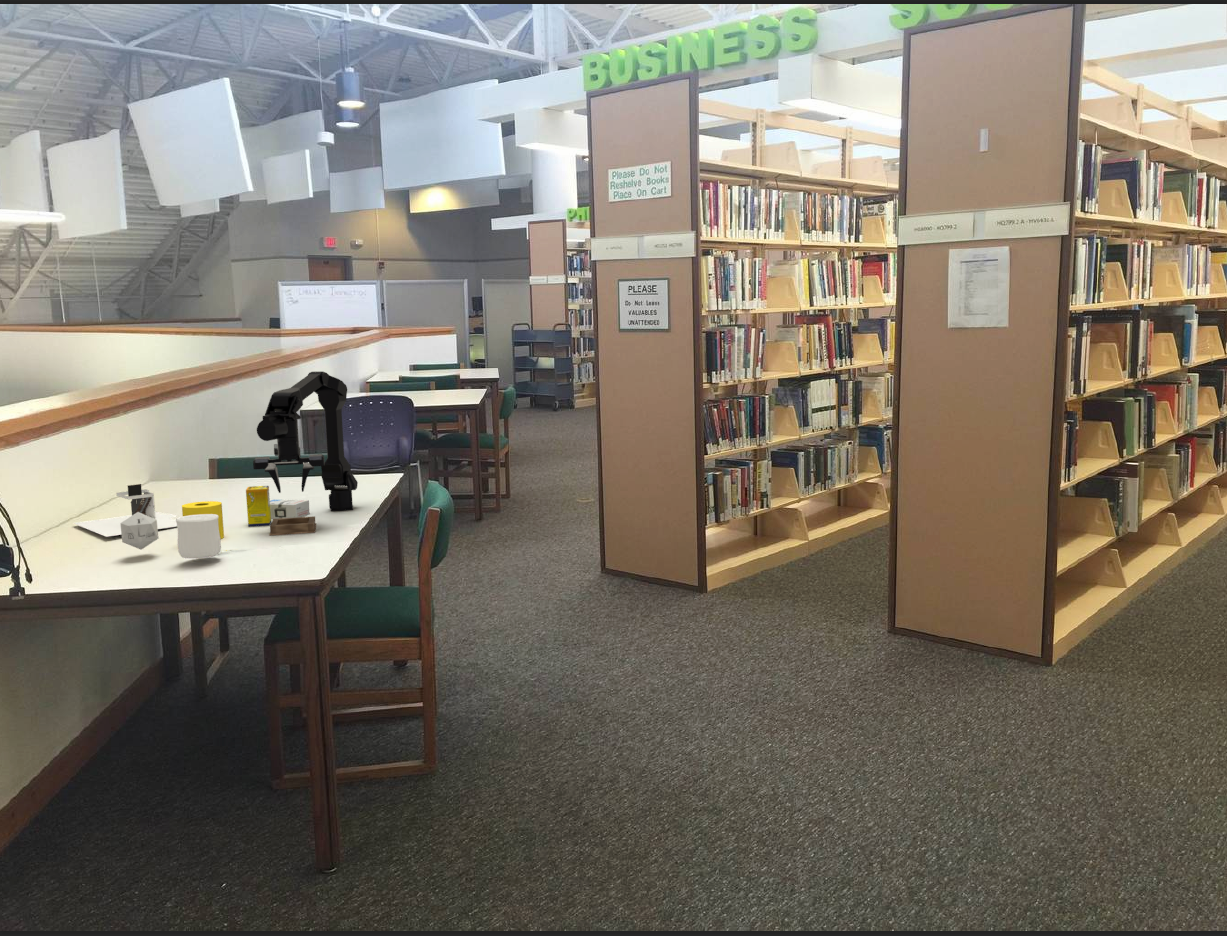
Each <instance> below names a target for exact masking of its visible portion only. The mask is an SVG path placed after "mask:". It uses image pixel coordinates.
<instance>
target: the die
mask: <svg viewBox="0 0 1227 936" xmlns="http://www.w3.org/2000/svg"><path fill="white" fill-rule="evenodd" d="M131 515H132V514H131ZM120 524H121V542H122V543H124V544H125V545H129V546H130V547H133V548H136V549H138V550H144V548H146V547H148V546H149V545H151V544H152V543H154V542H155V541H157V540H158V539H160V538H159V529H158V528H157V520H156V519H154V518H151V517H149V516H147V515H144V514H142V513H139V512H137V513H135V514H134V515H132V516H131V517H129V518H128V519H126V520H125V521H123V522H122V523H120Z"/></svg>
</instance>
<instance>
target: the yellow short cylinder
mask: <svg viewBox="0 0 1227 936" xmlns="http://www.w3.org/2000/svg"><path fill="white" fill-rule="evenodd" d="M181 510H182V511H181V512H182V516H189V515H199V514H216V515H218V516H219V517H218V526H219V534H220V540H221V539H224V538H225V531H224V518H223V504H222V502H221V501H217V500H215V501H213V500H210V501H208V500H205V501H195V502H194V501H193V502H189V503H188V502H187V503H185V504H182V505H181Z"/></svg>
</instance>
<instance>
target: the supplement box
mask: <svg viewBox="0 0 1227 936" xmlns="http://www.w3.org/2000/svg"><path fill="white" fill-rule="evenodd" d="M245 497H246V511H247V523H248V528H252V527H253V528H254V527H268V526H269V527H270V525H271V523H272V520H271V512H270V501H271V500H270V499H271V498H270V497H271V496H270V485H257V486H255V485H253V486H247V487H246V489H245Z"/></svg>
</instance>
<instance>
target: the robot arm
mask: <svg viewBox="0 0 1227 936" xmlns="http://www.w3.org/2000/svg"><path fill="white" fill-rule="evenodd" d="M314 393H315V394H317V399H318V403H319V404H320V406H321V407H322V408H323V411H324V421H325V423H324V424H325V436H326V438H325V439H326V455H327V458H326V460H325V455H324V454H322V453H318V454H317V453H316V454H309V456H308V457H301V447H300V441H299V439H300V437H299V422H298V420H301V419H302V416H301V415H300V414H299V413H297V412H299V410H300V409H301V408H302V407H303V405H304V400H305V399H306V398H308V397H309V396H311V395H312V394H314ZM347 394H348V386H347V385H346V383H344V381H343V380H341V379H339V378H337V377H335V376H331V375H330V374H328V373H327V372H325V371H310V372H308V374H307V375H306V376H305V377H303V378H302V379H300V380H299V381H298V382H296V383H295V384H293V385H292V386H291V387H289V388H288V387H287V388H284V389H280V390H277V391H274V392H273V393H272V394H271V396H270V398H269V402H268V405H267V407H266V411H265V413H264V415H262V420H260V422H259V423H258V424H257V427H256V434H257V436H258V437H259V438H260V439H261V440H262V441H264V442H270V441H274V440H277V441H276V442H277V443H275V444H273V454H274V456H275V457H277V458H272V459H270V456H256V457H255V458H254V459H253V461H252V464H253V465H252V466H253V470H264V472H265V473H268V474H269V475H270V478H271V479H272V480H273V482H274V484H275V487H276V489H277V492H278V494H281V493H282V491H281V490H282V489H281V483H280V478H279V477H280V476H279V473H278V472H279V471H278V467H277V466H292V465H293V466H294V465H295V466H296V465H302V466H303V467H302V471H301V475H302V476H301V492H302V493H303V492H304V491H305V487H306V483H307V478H308V476H309V474H310V471H311V470H315V467H320V468H321V481H322V483H323V486H324V490H325V491H330V493H329V494H328V507H329V509H330V511H331V512H340V511H343V512H344V511H353V510H354V505H353V491H356V490H357V489H358V483H359V482H358V480H357V478H355V476H354V474H353V473H352V470H351V464H350V462H349V461H348V460H347V459H346V456H345V447H344V430H343V429H344V428H343V415H342V414H343V413H342V412H343V410H342V409H343V407H344V406H345V404H346V402H347V398H348V397H347Z"/></svg>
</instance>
